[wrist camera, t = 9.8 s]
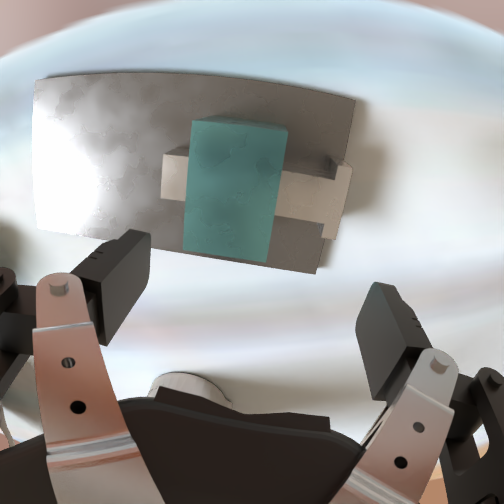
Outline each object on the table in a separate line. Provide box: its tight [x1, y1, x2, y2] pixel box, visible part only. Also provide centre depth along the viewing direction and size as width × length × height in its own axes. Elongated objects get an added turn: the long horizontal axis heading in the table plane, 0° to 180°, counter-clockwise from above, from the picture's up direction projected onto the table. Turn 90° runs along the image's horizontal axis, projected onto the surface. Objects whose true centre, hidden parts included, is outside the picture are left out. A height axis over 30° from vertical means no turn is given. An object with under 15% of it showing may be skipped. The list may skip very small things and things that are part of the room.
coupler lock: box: [183, 116, 288, 263], centre depth 20 cm, size 5×8×6 cm, turn 172°
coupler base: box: [32, 73, 356, 274], centre depth 22 cm, size 26×14×4 cm, turn 82°
